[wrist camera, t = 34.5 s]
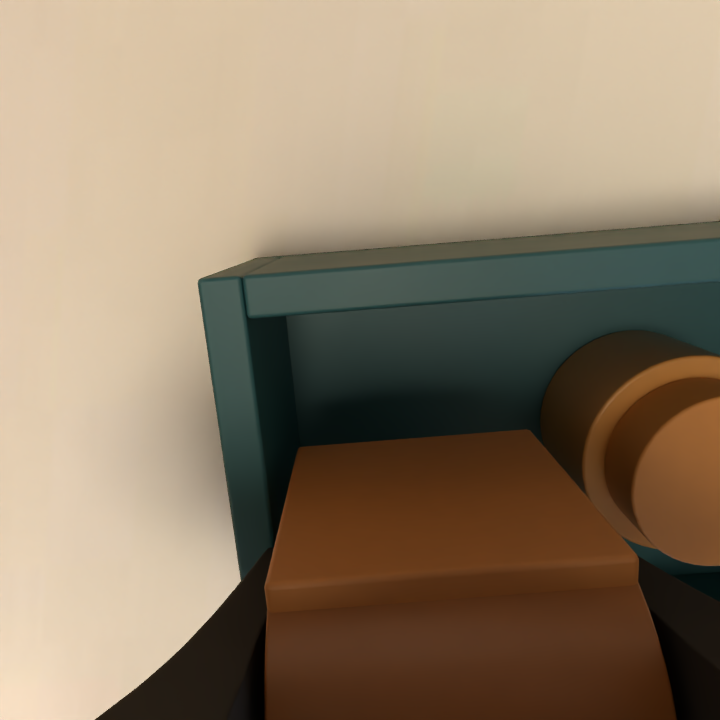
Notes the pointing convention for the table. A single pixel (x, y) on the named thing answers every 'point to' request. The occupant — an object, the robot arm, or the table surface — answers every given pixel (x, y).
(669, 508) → the round bread
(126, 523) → the table surface
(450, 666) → the square bread
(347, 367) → the dark green open box
